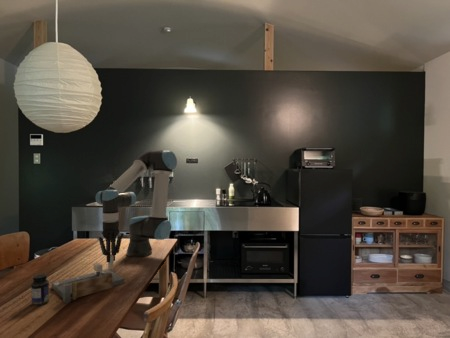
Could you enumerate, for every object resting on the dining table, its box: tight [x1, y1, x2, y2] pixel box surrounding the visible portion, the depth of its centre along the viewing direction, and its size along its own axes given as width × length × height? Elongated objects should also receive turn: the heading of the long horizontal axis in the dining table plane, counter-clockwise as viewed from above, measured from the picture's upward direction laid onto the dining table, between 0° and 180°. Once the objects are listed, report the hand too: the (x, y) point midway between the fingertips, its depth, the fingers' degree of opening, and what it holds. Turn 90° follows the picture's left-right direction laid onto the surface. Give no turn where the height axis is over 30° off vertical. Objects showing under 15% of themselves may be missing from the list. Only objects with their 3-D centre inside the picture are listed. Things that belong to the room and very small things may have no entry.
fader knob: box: [93, 262, 104, 275], centre depth 150 cm, size 2×4×5 cm, turn 44°
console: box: [51, 268, 125, 299], centre depth 143 cm, size 26×18×3 cm
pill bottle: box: [30, 273, 50, 307], centre depth 125 cm, size 6×6×11 cm
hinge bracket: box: [62, 283, 72, 304], centre depth 126 cm, size 2×3×7 cm, turn 45°
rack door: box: [71, 274, 113, 301], centre depth 134 cm, size 17×2×7 cm, turn 135°
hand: (110, 268), depth 155 cm, fingers closed
